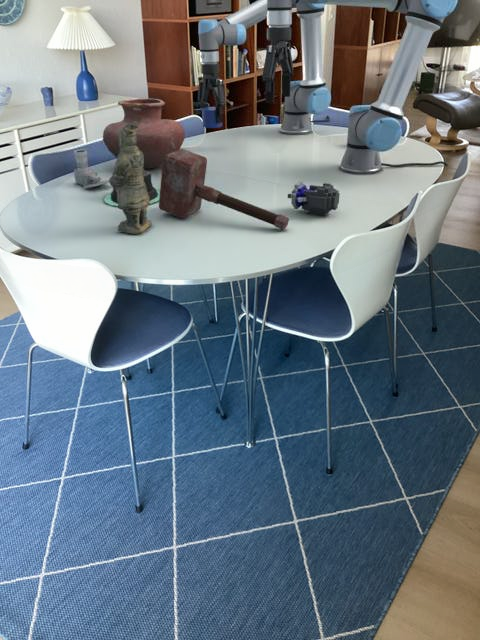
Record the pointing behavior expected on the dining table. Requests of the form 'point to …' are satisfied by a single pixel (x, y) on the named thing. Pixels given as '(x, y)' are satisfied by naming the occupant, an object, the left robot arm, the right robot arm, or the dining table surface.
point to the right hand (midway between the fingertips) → (278, 99)
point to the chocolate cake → (152, 192)
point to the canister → (210, 118)
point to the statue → (131, 182)
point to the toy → (315, 198)
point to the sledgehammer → (200, 190)
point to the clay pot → (146, 131)
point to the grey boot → (86, 171)
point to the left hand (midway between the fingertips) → (212, 121)
